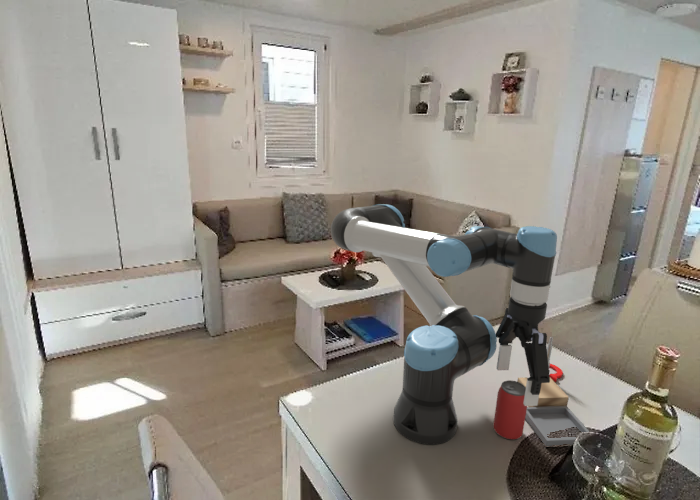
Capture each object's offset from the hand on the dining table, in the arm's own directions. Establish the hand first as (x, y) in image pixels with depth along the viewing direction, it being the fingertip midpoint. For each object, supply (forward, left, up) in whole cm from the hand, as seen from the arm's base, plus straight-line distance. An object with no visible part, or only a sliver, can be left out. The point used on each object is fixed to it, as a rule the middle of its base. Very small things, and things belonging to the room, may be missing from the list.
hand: (515, 386), depth 95 cm
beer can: (0, 0, -13) cm, 13 cm away
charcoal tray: (+12, 0, -12) cm, 17 cm away
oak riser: (+14, +11, -12) cm, 22 cm away
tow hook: (+23, +24, -13) cm, 36 cm away
